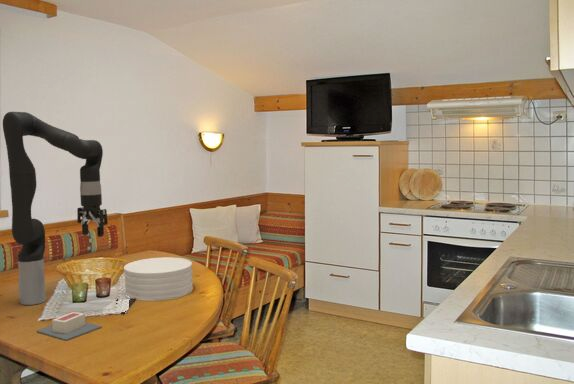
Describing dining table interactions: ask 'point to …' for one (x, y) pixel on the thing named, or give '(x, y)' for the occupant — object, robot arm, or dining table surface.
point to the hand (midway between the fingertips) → (93, 235)
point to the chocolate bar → (125, 311)
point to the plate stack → (158, 278)
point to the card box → (68, 322)
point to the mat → (70, 335)
